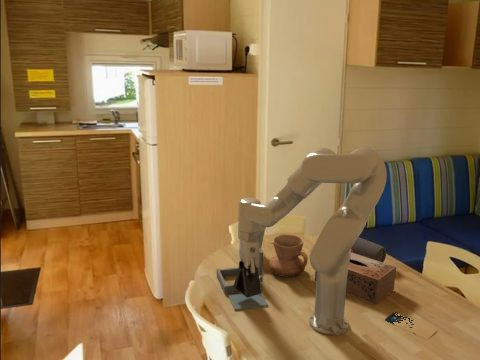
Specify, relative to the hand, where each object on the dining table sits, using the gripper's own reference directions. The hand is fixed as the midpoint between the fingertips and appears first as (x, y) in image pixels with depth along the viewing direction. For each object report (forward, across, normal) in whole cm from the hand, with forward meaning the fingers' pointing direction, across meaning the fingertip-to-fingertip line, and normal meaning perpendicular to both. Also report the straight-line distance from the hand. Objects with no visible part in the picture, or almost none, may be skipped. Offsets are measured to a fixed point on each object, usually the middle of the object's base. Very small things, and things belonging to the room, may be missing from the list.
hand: (247, 281), depth 160 cm
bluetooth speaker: (+8, +23, -56) cm, 61 cm away
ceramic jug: (+8, +18, -22) cm, 30 cm away
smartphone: (+8, -27, -48) cm, 56 cm away
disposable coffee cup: (+8, +38, -13) cm, 41 cm away
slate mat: (+8, 0, 0) cm, 8 cm away
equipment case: (+8, +14, 0) cm, 16 cm away
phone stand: (+4, 0, 0) cm, 4 cm away
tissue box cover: (+8, +2, -43) cm, 44 cm away
